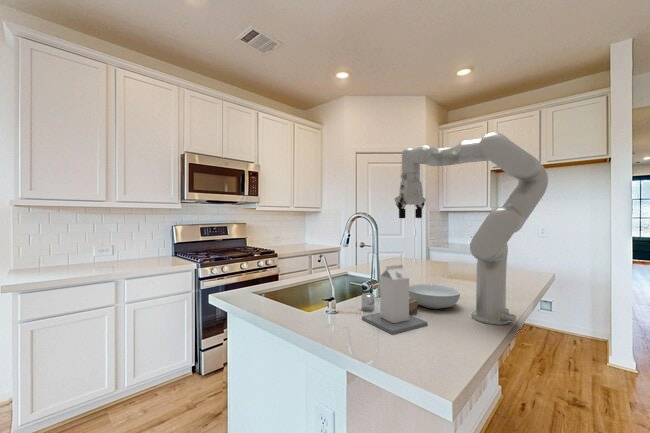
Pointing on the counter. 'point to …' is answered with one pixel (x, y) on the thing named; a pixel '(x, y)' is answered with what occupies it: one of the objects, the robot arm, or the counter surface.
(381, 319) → the plate
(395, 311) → the milk carton
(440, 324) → the counter surface
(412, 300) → the walnut block
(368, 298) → the glass jar
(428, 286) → the serving bowl
